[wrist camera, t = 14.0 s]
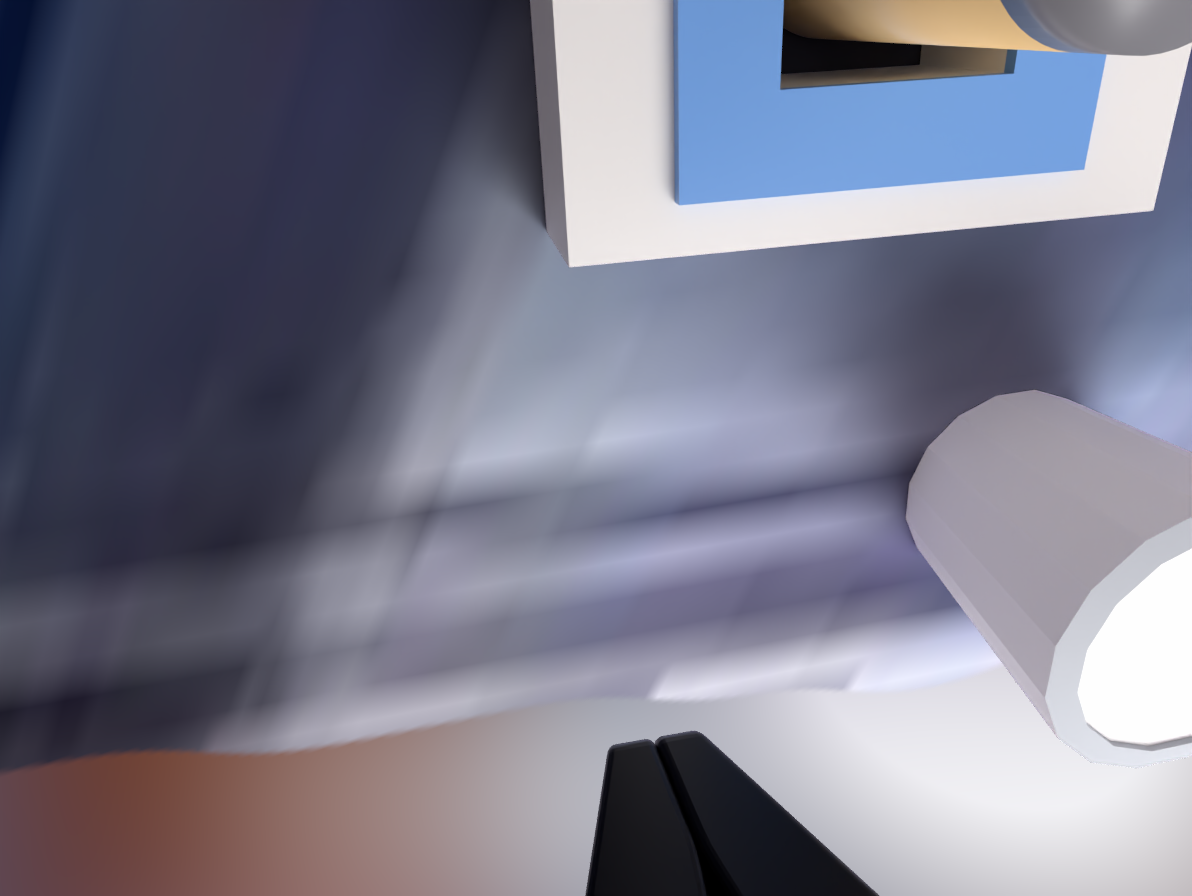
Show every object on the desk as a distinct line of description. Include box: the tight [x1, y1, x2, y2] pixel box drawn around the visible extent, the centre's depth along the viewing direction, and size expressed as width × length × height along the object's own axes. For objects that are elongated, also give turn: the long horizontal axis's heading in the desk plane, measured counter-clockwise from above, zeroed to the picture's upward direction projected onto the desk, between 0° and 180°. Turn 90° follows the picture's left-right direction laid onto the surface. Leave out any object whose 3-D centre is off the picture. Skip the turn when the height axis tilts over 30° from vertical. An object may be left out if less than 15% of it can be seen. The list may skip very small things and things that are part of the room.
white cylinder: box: [906, 390, 1192, 768], centre depth 21 cm, size 7×7×7 cm
